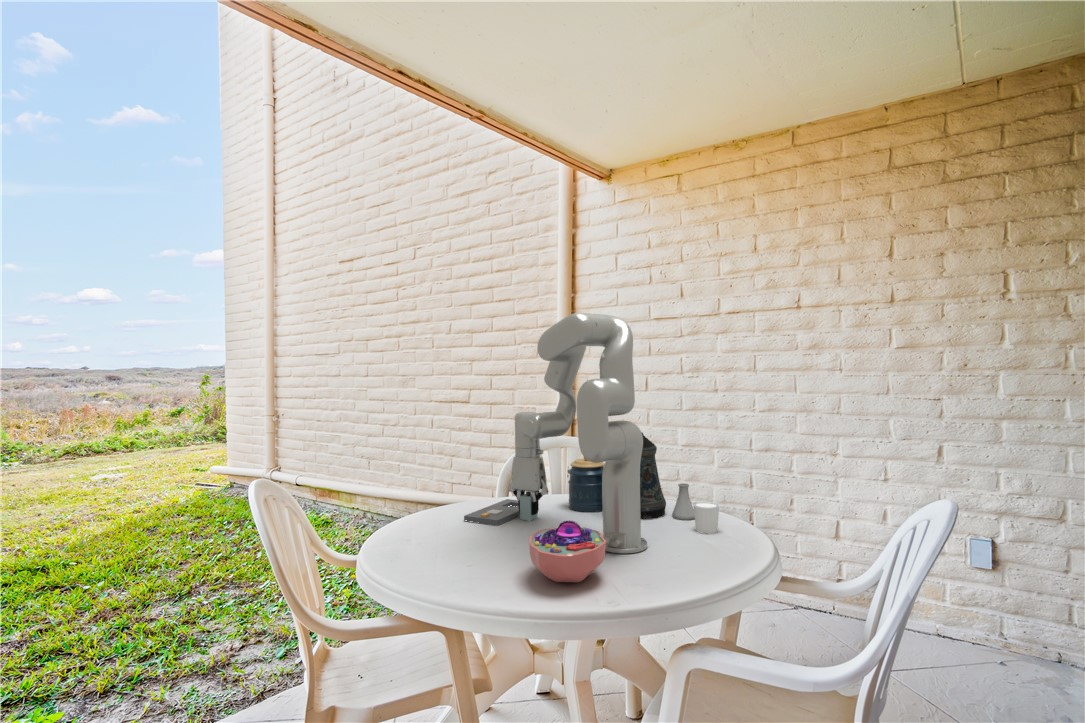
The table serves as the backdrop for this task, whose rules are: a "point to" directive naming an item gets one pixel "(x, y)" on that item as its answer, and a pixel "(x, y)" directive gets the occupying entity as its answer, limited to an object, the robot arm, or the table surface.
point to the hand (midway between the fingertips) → (528, 512)
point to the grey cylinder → (706, 517)
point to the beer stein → (650, 483)
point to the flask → (683, 504)
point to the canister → (585, 485)
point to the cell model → (567, 552)
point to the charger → (526, 507)
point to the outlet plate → (495, 513)
